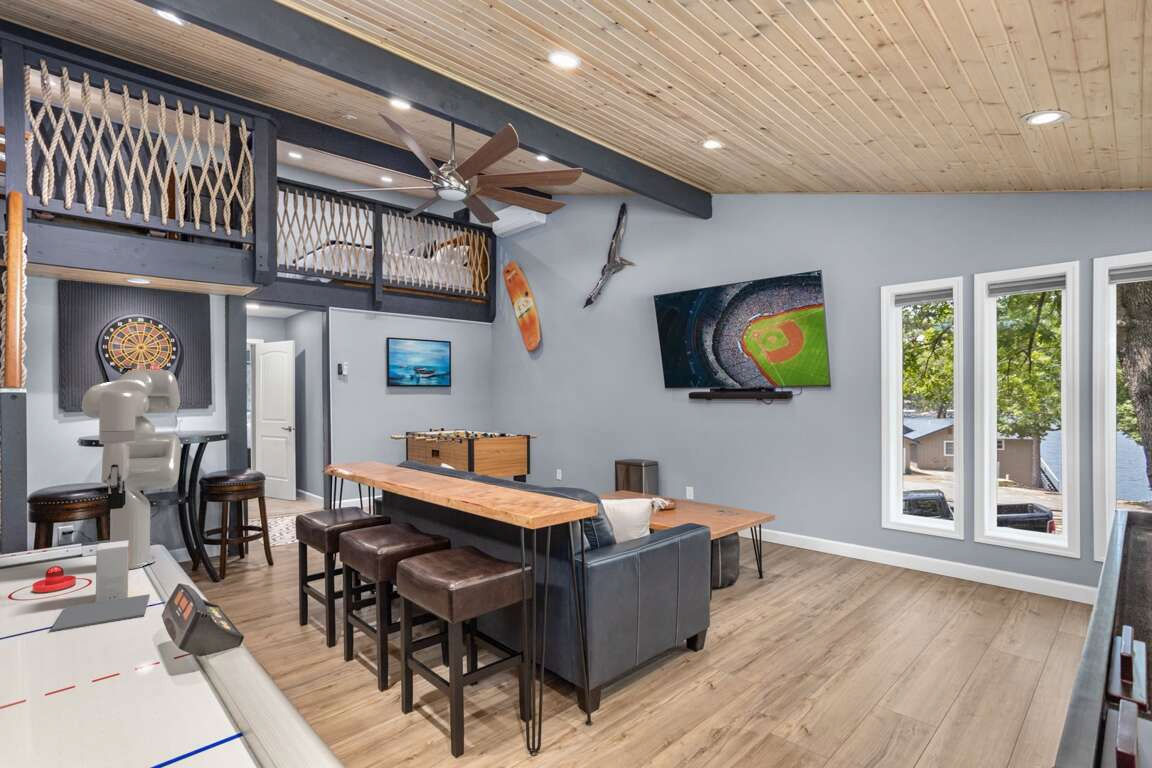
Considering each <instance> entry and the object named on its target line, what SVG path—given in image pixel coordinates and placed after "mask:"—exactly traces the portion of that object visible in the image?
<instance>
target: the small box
mask: <svg viewBox="0 0 1152 768" xmlns="http://www.w3.org/2000/svg"><path fill="white" fill-rule="evenodd" d="M95 557H96V559H95V562H96V564H95V566H96V567H95V571H96V572H95V576H96V577H95V602H102V601H108V600H115V599H122V598H128V597H129V594H128V593H129V569H128V563H129V540H127V541H118V542H110V541H109V542H102V543H101V542H100V543H98V544H97V547H96V556H95Z"/></svg>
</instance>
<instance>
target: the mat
mask: <svg viewBox="0 0 1152 768" xmlns="http://www.w3.org/2000/svg"><path fill="white" fill-rule="evenodd" d="M150 596H151V595H150V594H142V595H135V596H131V597H129V596H128V598H122V599H115V600H108V601H102V602H96V601H95V602H89V603H82V604H78V605H77V604H75V605H71V606H70V605H69V606H66V607H64V609H63V611H62V613H61V614H60V615H59V617H58V619H57V620H56V621H55V624H54V625H53V626H52V628H51V630H50V632H51V633H54V632H59V631H65V630H71V629H76V628H84V627H89V626H95V625H99V624H101V625H102V624H106V623H112V622H119V621H125V620H130V619H136V618H142V617H145V615H146V610H147V607H148V604H149V600H150Z"/></svg>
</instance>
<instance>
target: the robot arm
mask: <svg viewBox="0 0 1152 768" xmlns="http://www.w3.org/2000/svg"><path fill="white" fill-rule="evenodd" d="M81 401H82V402H81V408H82V412H83V413H84V415H85V416H86V417H88V418H91V419H99V421H98V423H99V424H98V427H99V429H98V430H99V431H98V444H99V445H103V449H102V461H101V482H102V483H106V482H107V485H108V491H107V492H108V493H107V509H108V510H110V512H109V513H110V518H109V519H110V520H109V523H110V525H109V532H110V533H109V539H110V540H109V542H118V541H127V540H129V563H128V570H134V569H140V568H144V567H145V566H144V564H145V563H147V562H146V561H147V560H149V559H150V556H152V557H151V558H152V559H151V561H152V560H154V559H156V560H157V557H156V556H154V555H151V503H150V501H149V499H148V498H147V497H146V496H145V495H144V494H143V493H141V491H145V490H146V491H147V490H160V489H162V490H163V489H170V488H173V487H174V486H176V484H177V483H178V481H179V477H180V476H179V475H180V468H181V455H182V446H181V445H182V444H181V440H180V438H179V437H178V435H176V434H173V433H165V432H164V433H156V428H155V426H154V424H153V423H152V422H151V421H150V420H149V419H147V418H146V417H145V416H143V415H145V414H170V413H174V412H176V411H177V410H178V409H179V408H180V405H181V395H180V390H179V385H178V381H177V378H176V376H175V375H174V373H173V372H171V371H170V370H166V369H131V370H127V371H126V372H124V373H123V374H122V375H121V377H119V379H116V380H115V379H114V380H111V381H108V382H103V383H98V384H94V385H92V386H90V387H89V388H88V390H87V391H86V392H85V394H84V395H83V397H82V400H81ZM143 566H144V567H143Z"/></svg>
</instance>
